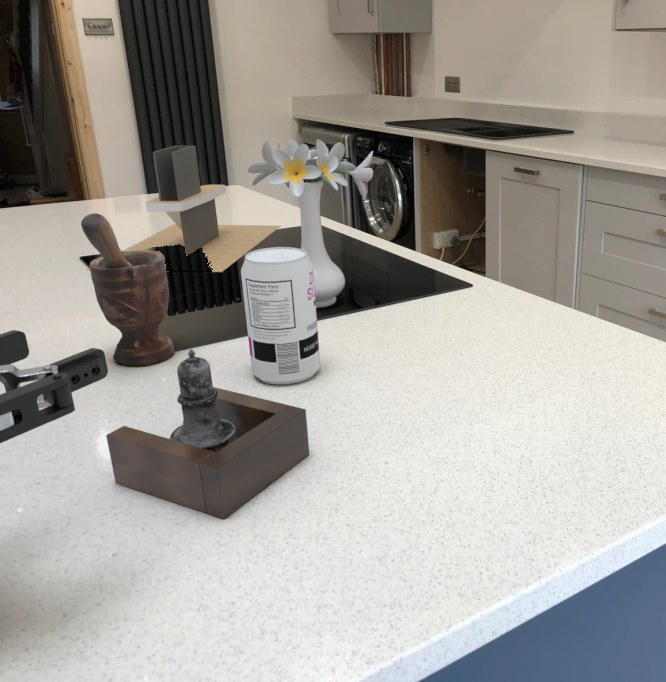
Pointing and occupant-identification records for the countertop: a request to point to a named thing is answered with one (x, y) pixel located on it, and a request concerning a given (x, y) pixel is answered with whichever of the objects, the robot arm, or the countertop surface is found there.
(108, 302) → the mortar and pestle
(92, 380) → the robot arm
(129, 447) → the stand
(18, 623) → the countertop surface
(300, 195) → the flower vase
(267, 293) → the supplement can
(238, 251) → the architectural model
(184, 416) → the salt shaker
